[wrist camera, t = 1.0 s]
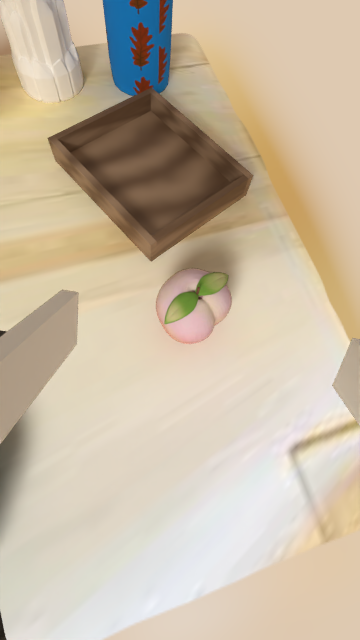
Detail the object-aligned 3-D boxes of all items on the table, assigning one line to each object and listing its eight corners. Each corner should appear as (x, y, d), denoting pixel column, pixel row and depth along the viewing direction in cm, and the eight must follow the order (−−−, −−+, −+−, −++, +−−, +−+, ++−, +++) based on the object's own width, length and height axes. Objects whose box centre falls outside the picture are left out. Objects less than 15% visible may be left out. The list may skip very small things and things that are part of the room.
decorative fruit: (185, 278, 44) (194, 236, 35) (231, 314, 43) (252, 280, 34) (140, 324, 41) (137, 291, 32) (188, 364, 40) (198, 342, 31)
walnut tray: (55, 160, 50) (47, 138, 46) (151, 110, 56) (151, 87, 52) (151, 261, 45) (150, 245, 41) (245, 194, 51) (253, 175, 47)
